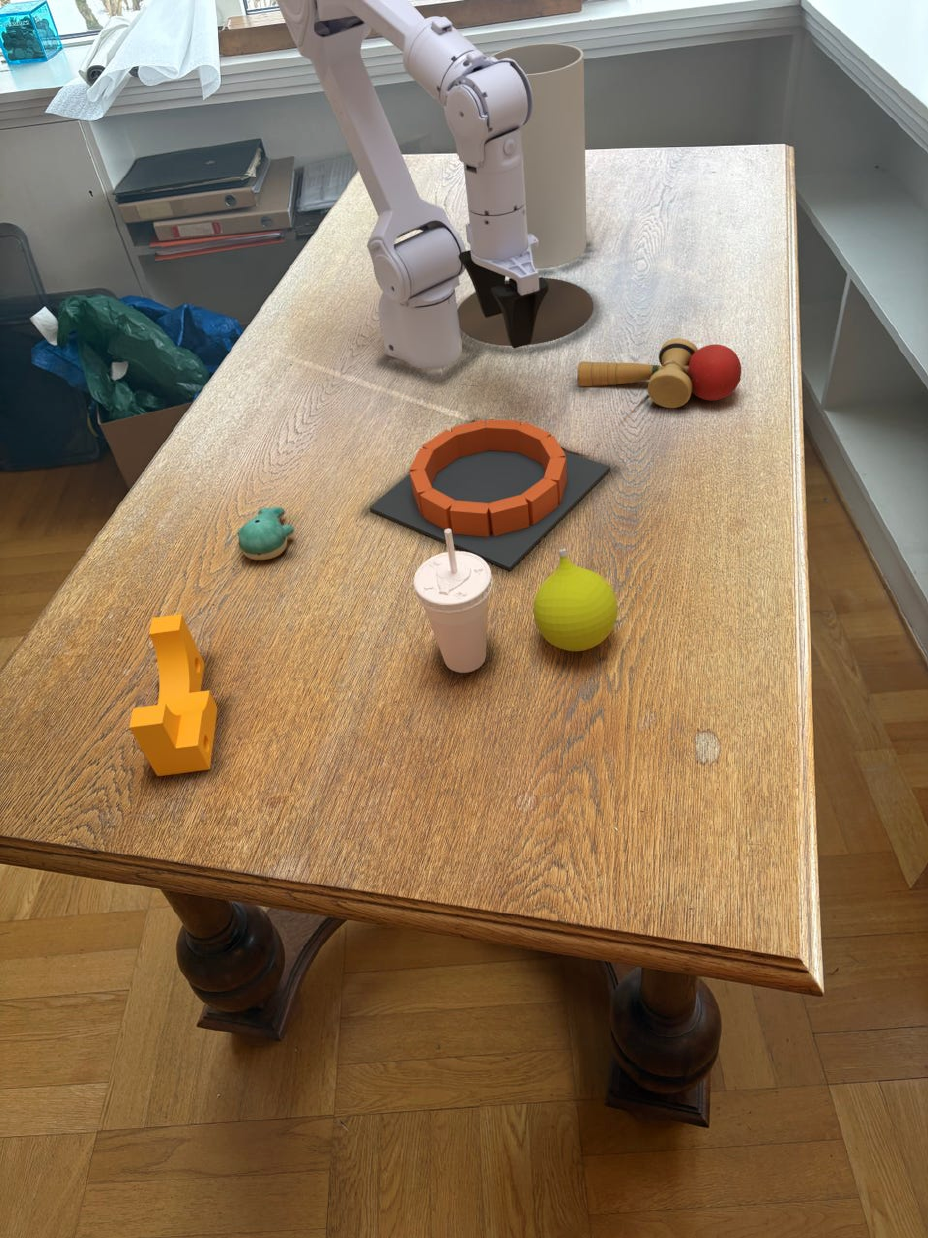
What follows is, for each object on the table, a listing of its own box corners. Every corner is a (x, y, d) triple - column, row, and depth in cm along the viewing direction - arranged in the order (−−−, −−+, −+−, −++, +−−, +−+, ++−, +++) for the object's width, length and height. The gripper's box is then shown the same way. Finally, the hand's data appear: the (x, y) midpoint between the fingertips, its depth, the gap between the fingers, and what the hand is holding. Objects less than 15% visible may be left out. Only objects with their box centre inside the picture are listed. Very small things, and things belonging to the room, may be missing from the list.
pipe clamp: (209, 769, 77) (184, 720, 73) (157, 776, 78) (129, 727, 73) (223, 661, 86) (201, 611, 81) (176, 667, 86) (152, 618, 81)
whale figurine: (233, 566, 95) (222, 537, 92) (249, 519, 100) (239, 490, 97) (290, 564, 94) (280, 535, 92) (303, 516, 99) (294, 487, 97)
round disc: (428, 331, 124) (423, 299, 121) (508, 272, 133) (506, 241, 130) (542, 364, 115) (541, 330, 112) (620, 299, 124) (620, 266, 121)
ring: (385, 496, 100) (380, 473, 97) (487, 426, 106) (484, 403, 104) (492, 557, 91) (489, 533, 89) (596, 477, 98) (595, 453, 96)
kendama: (575, 417, 109) (737, 411, 102) (568, 364, 105) (735, 354, 99) (591, 391, 115) (745, 384, 108) (585, 340, 111) (744, 329, 104)
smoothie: (510, 637, 84) (497, 514, 74) (488, 691, 80) (471, 569, 70) (443, 625, 86) (421, 504, 76) (418, 677, 82) (391, 557, 72)
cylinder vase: (601, 240, 137) (600, 45, 119) (560, 279, 130) (553, 78, 112) (526, 228, 142) (515, 40, 125) (483, 265, 135) (464, 71, 118)
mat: (370, 511, 99) (369, 507, 99) (473, 423, 108) (473, 419, 108) (510, 571, 90) (509, 567, 90) (610, 470, 99) (610, 466, 99)
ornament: (558, 600, 87) (553, 515, 80) (630, 623, 84) (632, 537, 77) (521, 652, 83) (513, 568, 76) (596, 678, 80) (594, 593, 73)
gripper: (565, 219, 90) (569, 348, 99) (504, 170, 99) (513, 292, 109) (496, 238, 88) (507, 367, 98) (442, 187, 98) (457, 308, 108)
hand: (506, 329), depth 103 cm, fingers open, 7 cm apart
